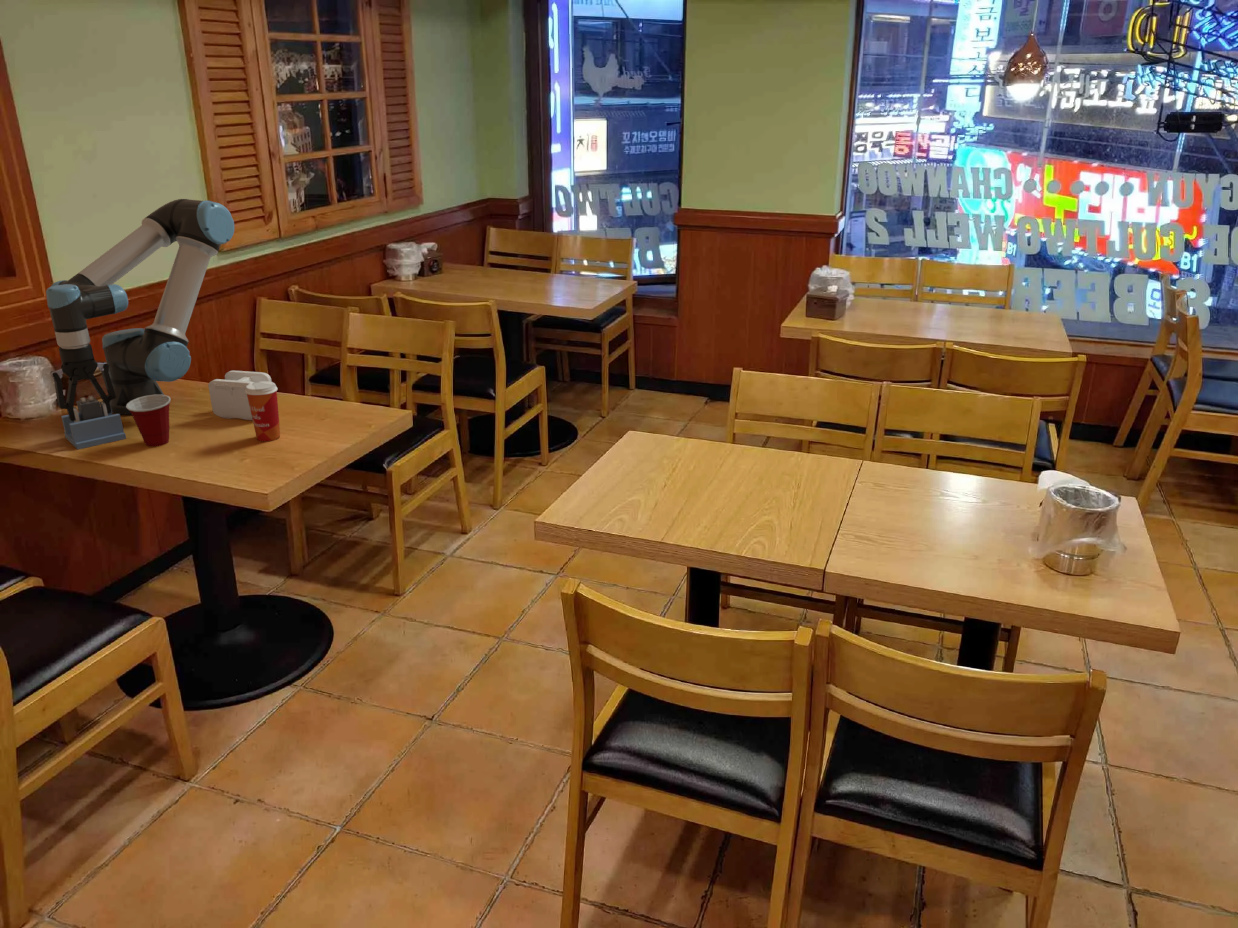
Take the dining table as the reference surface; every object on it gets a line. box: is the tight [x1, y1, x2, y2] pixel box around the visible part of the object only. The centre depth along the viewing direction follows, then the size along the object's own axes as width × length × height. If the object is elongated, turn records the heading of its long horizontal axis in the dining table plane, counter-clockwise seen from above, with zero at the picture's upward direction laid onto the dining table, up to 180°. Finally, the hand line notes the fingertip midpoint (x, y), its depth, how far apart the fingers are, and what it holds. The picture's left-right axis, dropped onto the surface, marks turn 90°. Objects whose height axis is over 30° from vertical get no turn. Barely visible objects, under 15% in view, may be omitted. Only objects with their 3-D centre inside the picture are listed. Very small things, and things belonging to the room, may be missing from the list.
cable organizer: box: [208, 370, 272, 421], centre depth 266 cm, size 15×11×12 cm
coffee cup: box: [245, 381, 281, 442], centre depth 248 cm, size 8×8×15 cm
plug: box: [75, 395, 103, 421], centre depth 248 cm, size 4×4×10 cm
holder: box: [61, 409, 127, 450], centre depth 249 cm, size 12×12×6 cm
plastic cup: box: [126, 394, 171, 448], centre depth 245 cm, size 11×11×12 cm
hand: (93, 428), depth 249 cm, fingers open, 6 cm apart
